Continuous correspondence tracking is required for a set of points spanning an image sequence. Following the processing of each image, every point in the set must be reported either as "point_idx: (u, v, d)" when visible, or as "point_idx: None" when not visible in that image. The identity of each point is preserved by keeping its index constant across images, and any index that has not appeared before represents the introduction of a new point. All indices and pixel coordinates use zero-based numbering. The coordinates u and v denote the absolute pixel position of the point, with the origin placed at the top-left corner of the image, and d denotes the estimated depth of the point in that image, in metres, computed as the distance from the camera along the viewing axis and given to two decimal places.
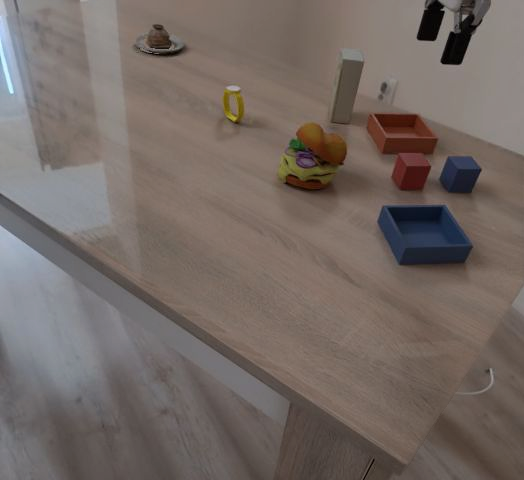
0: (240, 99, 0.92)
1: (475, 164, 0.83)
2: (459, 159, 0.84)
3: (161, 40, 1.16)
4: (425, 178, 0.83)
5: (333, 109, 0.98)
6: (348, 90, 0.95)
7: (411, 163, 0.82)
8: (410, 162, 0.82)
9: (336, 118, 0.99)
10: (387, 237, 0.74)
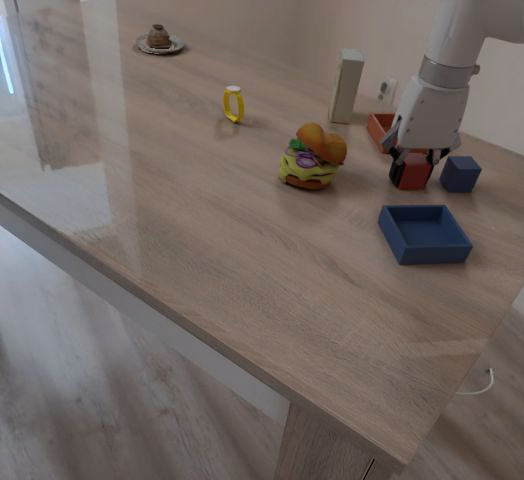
0: (240, 99, 0.92)
1: (475, 164, 0.83)
2: (459, 159, 0.84)
3: (161, 40, 1.16)
4: (425, 178, 0.83)
5: (333, 109, 0.98)
6: (348, 90, 0.95)
7: (411, 163, 0.82)
8: (410, 162, 0.82)
9: (336, 118, 0.99)
10: (387, 237, 0.74)
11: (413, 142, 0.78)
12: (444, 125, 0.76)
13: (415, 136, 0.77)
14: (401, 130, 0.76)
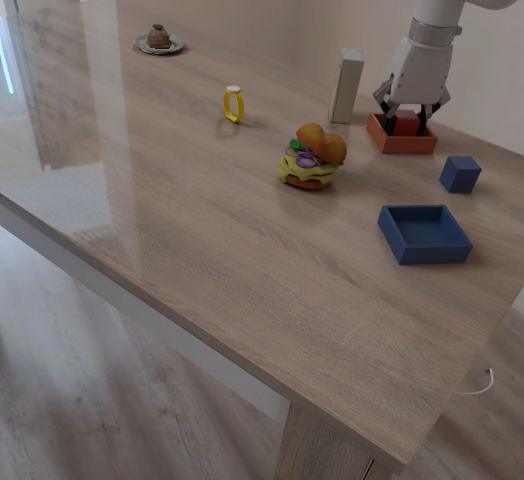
0: (240, 99, 0.92)
1: (475, 164, 0.83)
2: (459, 159, 0.84)
3: (161, 40, 1.16)
4: (415, 132, 0.94)
5: (333, 109, 0.98)
6: (348, 90, 0.95)
7: (402, 117, 0.92)
8: (401, 116, 0.92)
9: (336, 118, 0.99)
10: (387, 237, 0.74)
11: (404, 97, 0.88)
12: (431, 82, 0.86)
13: (406, 92, 0.87)
14: (394, 86, 0.87)
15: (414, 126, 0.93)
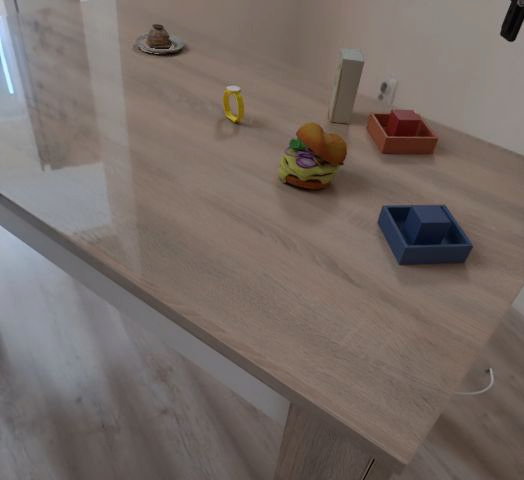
0: (240, 99, 0.92)
1: (443, 216, 0.71)
2: (425, 210, 0.71)
3: (161, 40, 1.16)
4: (415, 132, 0.94)
5: (333, 109, 0.98)
6: (348, 90, 0.95)
7: (402, 117, 0.92)
8: (401, 116, 0.92)
9: (336, 118, 0.99)
10: (387, 237, 0.74)
11: None
12: None
13: None
14: None
15: (414, 126, 0.93)
